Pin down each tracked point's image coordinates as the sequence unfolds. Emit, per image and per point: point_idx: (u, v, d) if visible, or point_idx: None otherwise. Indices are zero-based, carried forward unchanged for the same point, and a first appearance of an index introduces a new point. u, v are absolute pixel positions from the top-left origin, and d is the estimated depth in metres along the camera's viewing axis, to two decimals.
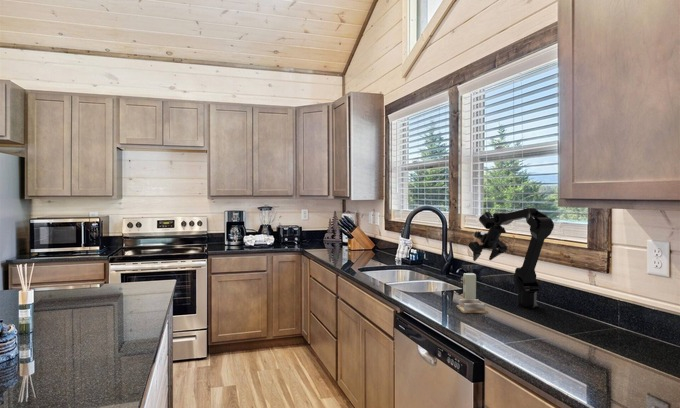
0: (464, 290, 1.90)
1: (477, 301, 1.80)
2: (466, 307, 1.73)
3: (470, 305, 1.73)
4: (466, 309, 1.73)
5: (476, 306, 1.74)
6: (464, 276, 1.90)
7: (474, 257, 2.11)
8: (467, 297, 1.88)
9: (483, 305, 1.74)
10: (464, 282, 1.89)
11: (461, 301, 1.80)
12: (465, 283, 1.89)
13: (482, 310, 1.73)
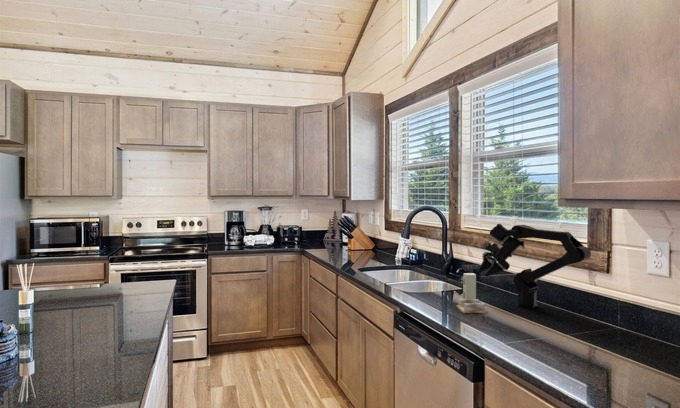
0: (464, 290, 1.90)
1: (477, 301, 1.80)
2: (466, 307, 1.73)
3: (470, 305, 1.73)
4: (466, 309, 1.73)
5: (476, 306, 1.74)
6: (464, 276, 1.90)
7: (490, 272, 1.84)
8: (467, 297, 1.88)
9: (483, 305, 1.74)
10: (464, 282, 1.89)
11: (461, 301, 1.80)
12: (465, 283, 1.89)
13: (482, 310, 1.73)
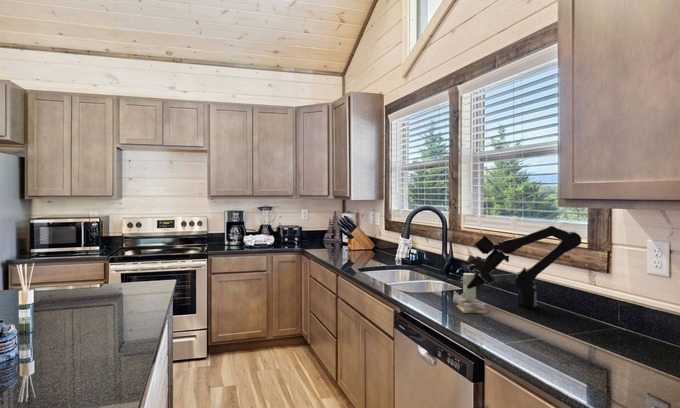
0: (464, 290, 1.90)
1: (477, 301, 1.80)
2: (466, 307, 1.73)
3: (470, 305, 1.73)
4: (466, 309, 1.73)
5: (476, 306, 1.74)
6: (464, 276, 1.90)
7: (473, 285, 1.87)
8: (467, 297, 1.88)
9: (483, 305, 1.74)
10: (464, 282, 1.89)
11: (461, 301, 1.80)
12: (465, 283, 1.89)
13: (482, 310, 1.73)
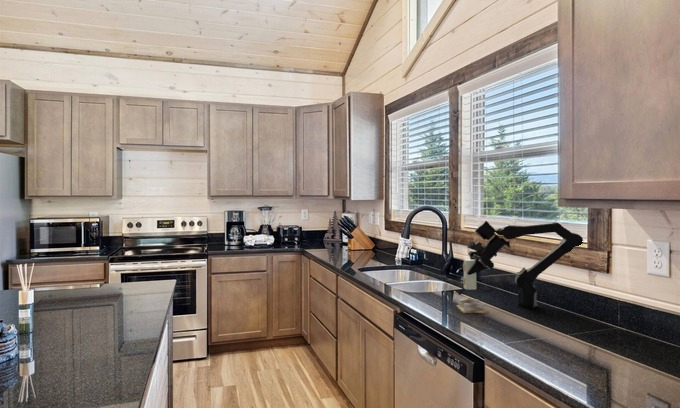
0: (464, 276, 1.88)
1: (477, 301, 1.80)
2: (466, 307, 1.73)
3: (470, 305, 1.73)
4: (466, 309, 1.73)
5: (476, 306, 1.74)
6: (464, 262, 1.88)
7: (473, 271, 1.85)
8: (467, 283, 1.86)
9: (483, 305, 1.74)
10: (464, 268, 1.87)
11: (461, 301, 1.80)
12: (465, 269, 1.87)
13: (482, 310, 1.73)
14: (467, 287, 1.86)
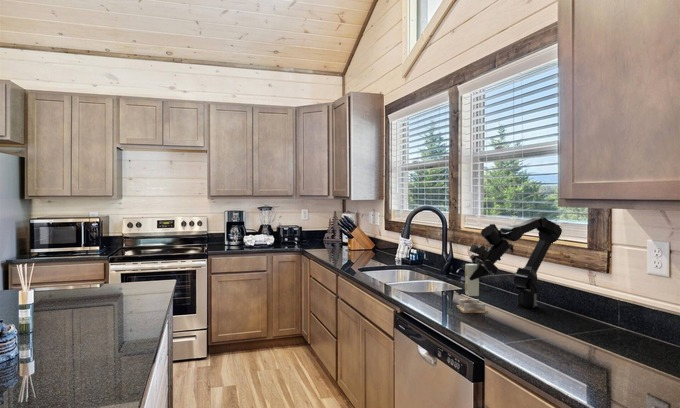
0: (466, 282, 1.77)
1: (477, 301, 1.80)
2: (466, 307, 1.73)
3: (470, 305, 1.73)
4: (466, 309, 1.73)
5: (476, 306, 1.74)
6: (466, 267, 1.77)
7: (475, 276, 1.74)
8: (469, 289, 1.76)
9: (483, 305, 1.74)
10: (466, 273, 1.76)
11: (461, 301, 1.80)
12: (467, 274, 1.76)
13: (482, 310, 1.73)
14: (469, 293, 1.76)
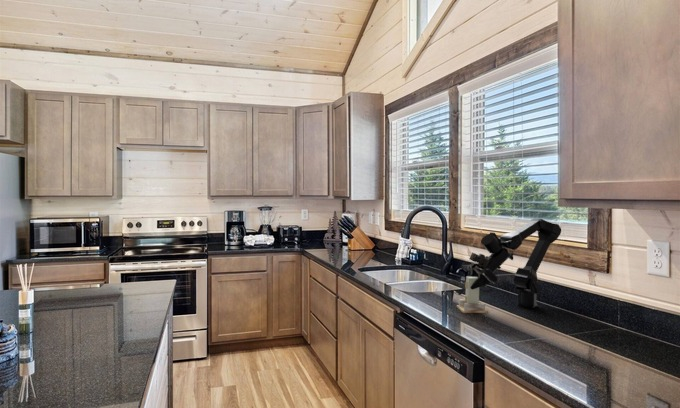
0: (466, 294, 1.77)
1: None
2: (466, 307, 1.73)
3: (470, 305, 1.73)
4: (466, 309, 1.73)
5: (476, 306, 1.74)
6: (467, 280, 1.77)
7: (476, 285, 1.73)
8: (469, 302, 1.76)
9: (483, 305, 1.74)
10: (466, 286, 1.76)
11: (461, 301, 1.80)
12: (468, 287, 1.76)
13: (482, 310, 1.73)
14: None
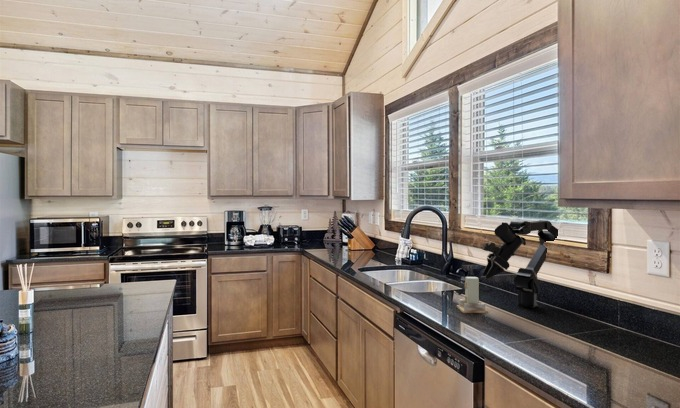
0: (466, 295, 1.77)
1: None
2: (466, 307, 1.73)
3: (470, 305, 1.73)
4: (466, 309, 1.73)
5: (476, 306, 1.74)
6: (466, 280, 1.77)
7: (491, 274, 1.74)
8: (469, 302, 1.76)
9: (483, 305, 1.74)
10: (466, 286, 1.77)
11: (461, 301, 1.80)
12: (467, 287, 1.76)
13: (482, 310, 1.73)
14: None
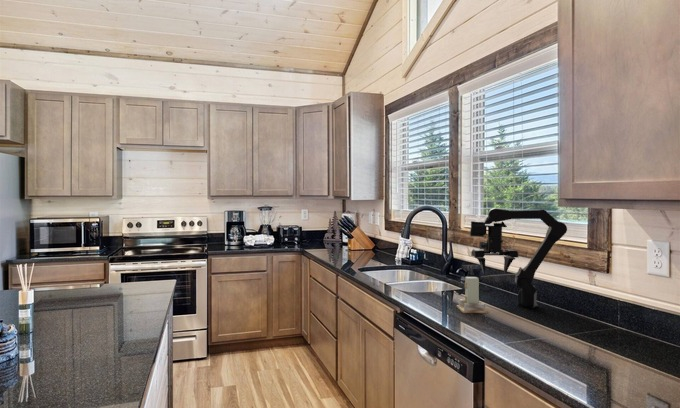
0: (466, 295, 1.77)
1: None
2: (466, 307, 1.73)
3: (470, 305, 1.73)
4: (466, 309, 1.73)
5: (476, 306, 1.74)
6: (466, 280, 1.77)
7: (482, 267, 1.88)
8: (469, 302, 1.76)
9: (483, 305, 1.74)
10: (466, 286, 1.77)
11: (461, 301, 1.80)
12: (467, 287, 1.76)
13: (482, 310, 1.73)
14: None
